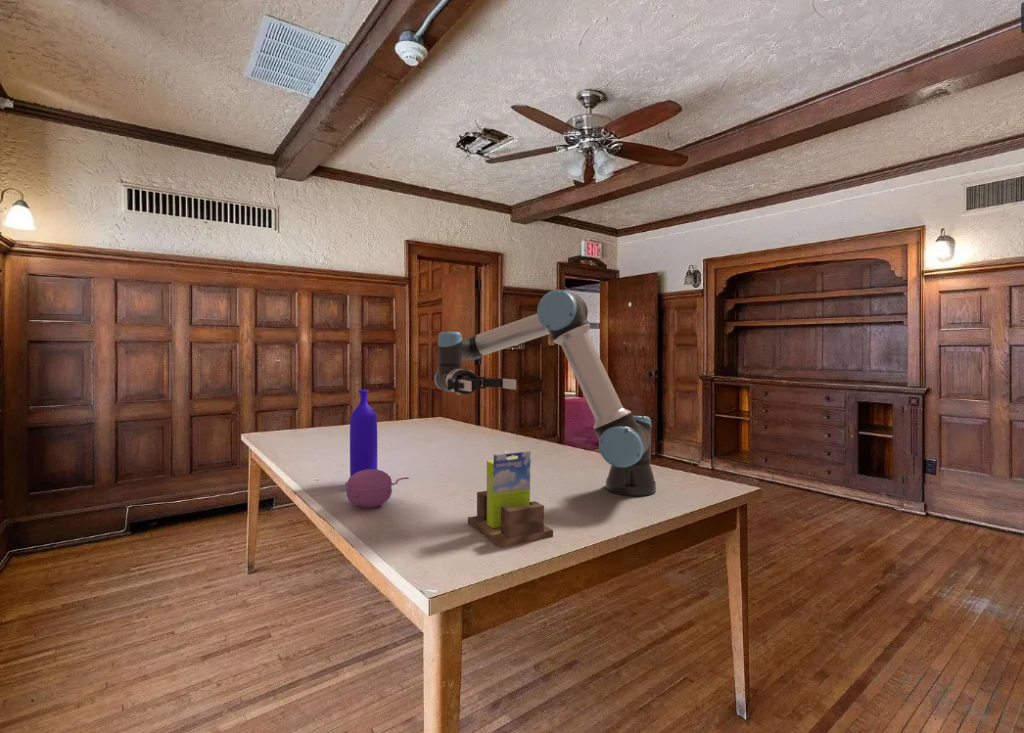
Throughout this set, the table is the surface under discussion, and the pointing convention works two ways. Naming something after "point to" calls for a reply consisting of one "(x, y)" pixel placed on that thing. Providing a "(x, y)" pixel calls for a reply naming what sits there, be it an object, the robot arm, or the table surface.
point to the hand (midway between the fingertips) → (493, 385)
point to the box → (507, 484)
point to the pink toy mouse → (370, 488)
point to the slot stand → (511, 523)
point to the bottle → (363, 436)
